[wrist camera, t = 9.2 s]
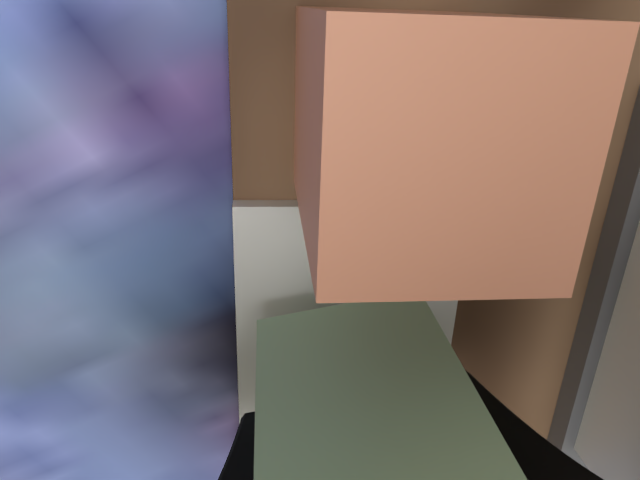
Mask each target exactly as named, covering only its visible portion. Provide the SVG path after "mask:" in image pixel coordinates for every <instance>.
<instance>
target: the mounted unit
mask: <svg viewBox="0 0 640 480" xmlns="http://www.w3.org/2000/svg"><path fill="white" fill-rule="evenodd" d="M547 441H549V442H550V443H551V444H553V445H554V446H556V447H557V448H558V449H560V450H561V451H562V452H564V453H565V454H566V455H568V456H569V457H571V458H572V459H573V460H575V461H576V462H578V463H579V464H581V465H582V466H584V467H585V468H587V469H588V470H590V471H591V472H593V473H594V474H596V475H597V476H599V477H601V478H602V479H604V480H640V85H639V89H638V93H637V97H636V101H635V104H634V108H633V112H632V116H631V120H630V124H629V127H628V131H627V135H626V139H625V143H624V147H623V150H622V154H621V158H620V162H619V166H618V170H617V173H616V177H615V181H614V185H613V189H612V193H611V196H610V200H609V204H608V208H607V212H606V216H605V219H604V223H603V227H602V231H601V235H600V239H599V242H598V246H597V250H596V254H595V258H594V262H593V265H592V269H591V273H590V277H589V281H588V285H587V288H586V292H585V296H584V300H583V304H582V308H581V311H580V315H579V319H578V323H577V327H576V331H575V334H574V338H573V342H572V346H571V350H570V354H569V357H568V361H567V365H566V369H565V373H564V377H563V380H562V384H561V388H560V392H559V396H558V400H557V403H556V407H555V411H554V415H553V419H552V423H551V426H550V430H549V434H548V438H547Z"/></svg>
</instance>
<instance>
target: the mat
mask: <svg viewBox="0 0 640 480" xmlns="http://www.w3.org/2000/svg"><path fill="white" fill-rule="evenodd" d="M232 214H233V245H234V275H235V306H236V336H237V367H238V398H239V424H240V421H241V418H242V417H243V415H244V414H245V413H249V412H254V411H255V388H256V341H257V320H260V319H265V318H270V317H275V316H281V315H286V314H291V313H297V312H302V311H307V310H312V309H318V308H323V307H328V306H334V305H339V304H344V303H316V300H315V294H314V289H313V284H312V278H311V273H310V267H309V262H308V256H307V251H306V246H305V240H304V235H303V229H302V224H301V218H300V213H299V207H298V202H297V200H233V205H232ZM426 302H427V304H428V306H429V307H430V309H431V311H432V313H433V315H434V316H435V318H436V320H437V322H438V323H439V325H440V327H441V329H442V330H443V332H444V334H445V336H446V337H447V339H448V341H449V343H450V344H451V342H452V336H453V329H454V323H455V316H456V310H457V304H458V300H453V301H426Z"/></svg>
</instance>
